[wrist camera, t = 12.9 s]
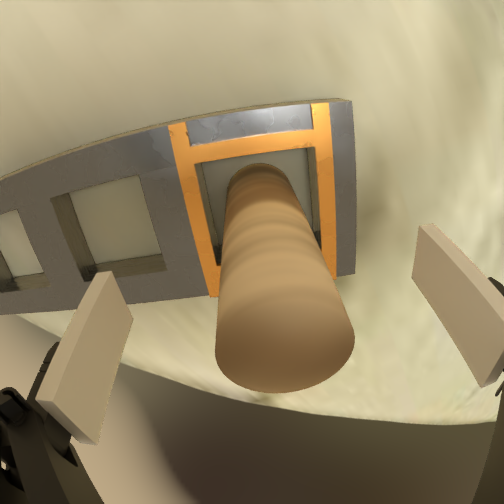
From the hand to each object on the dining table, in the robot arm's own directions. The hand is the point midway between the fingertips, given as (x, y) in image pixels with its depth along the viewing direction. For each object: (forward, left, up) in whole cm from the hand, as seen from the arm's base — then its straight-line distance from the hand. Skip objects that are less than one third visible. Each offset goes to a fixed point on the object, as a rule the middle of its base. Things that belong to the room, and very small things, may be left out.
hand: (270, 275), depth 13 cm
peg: (0, 0, -10) cm, 10 cm away
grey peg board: (0, -10, -10) cm, 14 cm away
